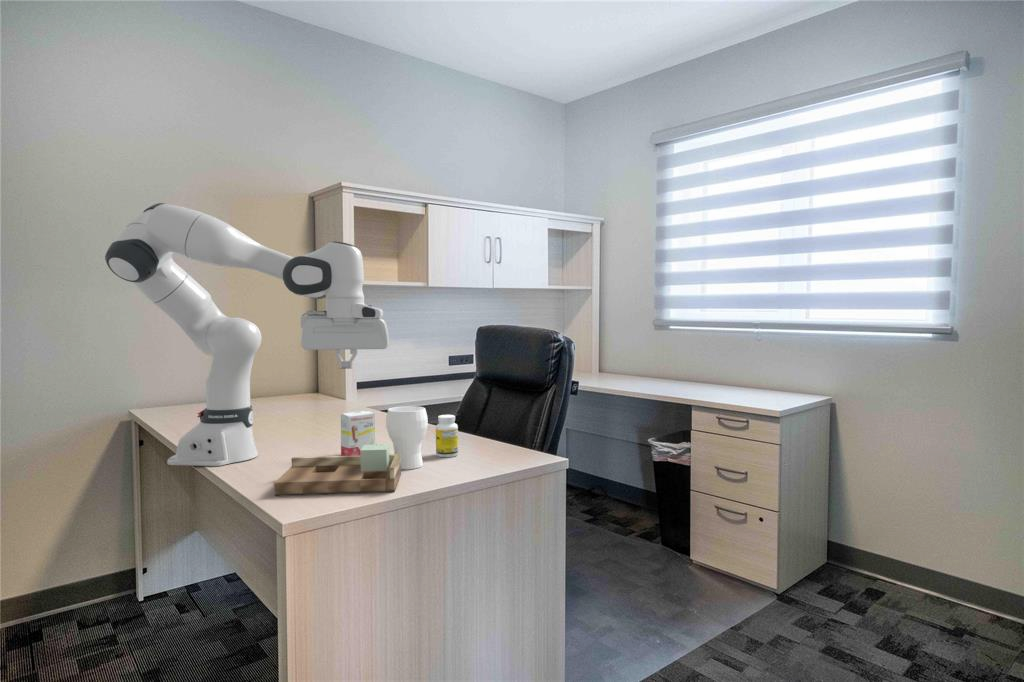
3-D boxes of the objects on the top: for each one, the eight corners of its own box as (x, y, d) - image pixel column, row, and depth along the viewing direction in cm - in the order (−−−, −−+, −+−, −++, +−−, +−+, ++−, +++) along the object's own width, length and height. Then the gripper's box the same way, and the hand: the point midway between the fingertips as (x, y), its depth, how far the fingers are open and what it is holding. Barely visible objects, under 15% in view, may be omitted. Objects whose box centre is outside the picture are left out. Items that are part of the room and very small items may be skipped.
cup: (380, 465, 161) (378, 408, 160) (416, 459, 168) (415, 404, 167) (398, 473, 153) (397, 413, 152) (435, 466, 159) (434, 409, 158)
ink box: (348, 458, 169) (347, 415, 169) (340, 455, 173) (339, 413, 172) (376, 453, 175) (375, 412, 174) (368, 450, 178) (367, 410, 178)
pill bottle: (436, 452, 175) (435, 414, 174) (458, 452, 175) (457, 413, 175) (435, 458, 169) (435, 418, 168) (458, 457, 169) (457, 417, 169)
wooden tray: (274, 496, 135) (273, 471, 135) (293, 477, 150) (292, 455, 150) (394, 492, 137) (394, 467, 137) (400, 474, 152) (400, 452, 152)
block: (360, 471, 143) (360, 450, 143) (364, 465, 149) (364, 444, 149) (386, 470, 144) (386, 449, 144) (389, 464, 150) (389, 444, 150)
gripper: (297, 310, 142) (298, 370, 143) (386, 310, 144) (387, 369, 145) (303, 310, 149) (304, 367, 149) (389, 310, 151) (390, 366, 151)
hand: (346, 368), depth 147 cm, fingers closed
